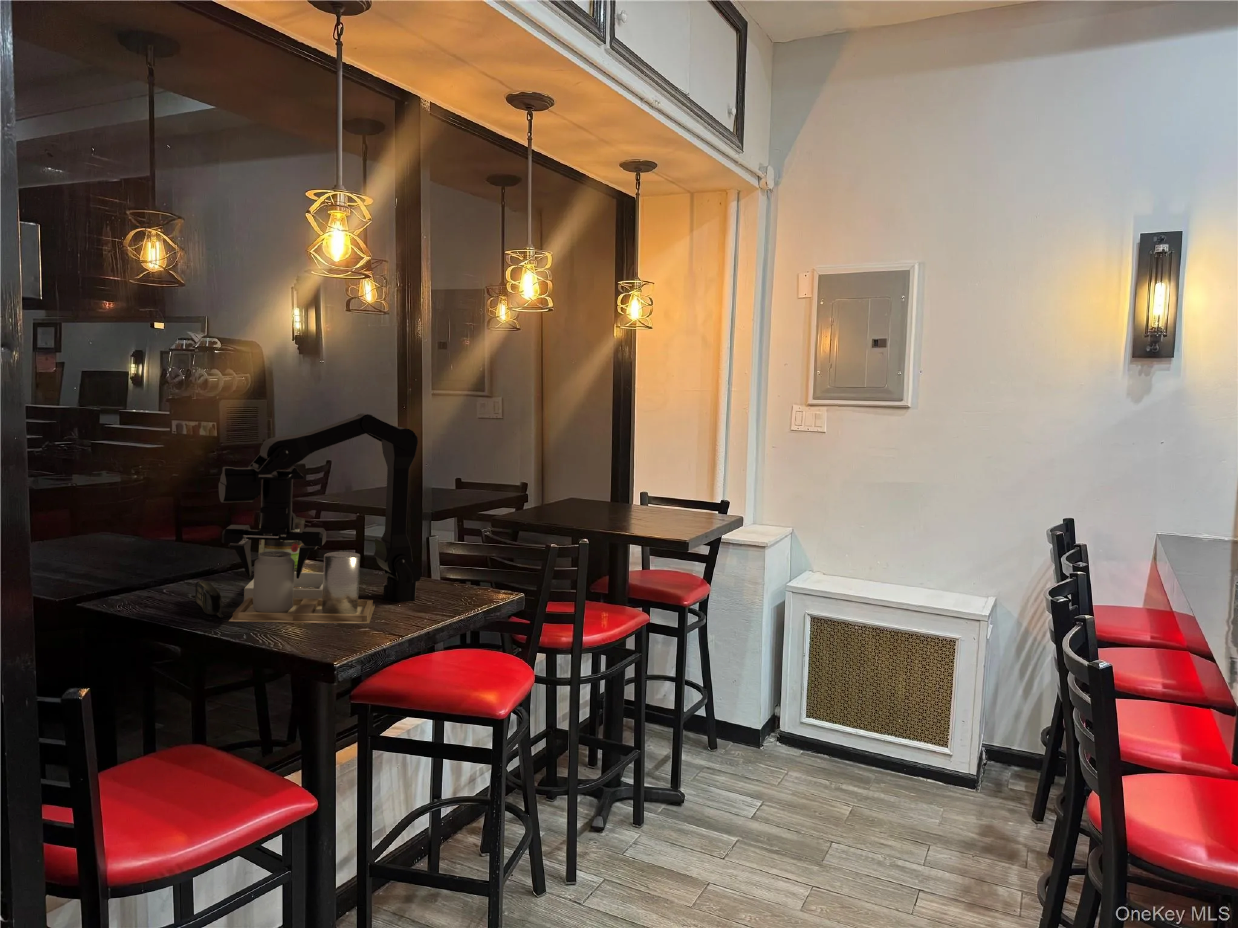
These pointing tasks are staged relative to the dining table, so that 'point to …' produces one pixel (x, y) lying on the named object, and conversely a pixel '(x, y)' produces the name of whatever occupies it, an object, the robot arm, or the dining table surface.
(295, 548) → the coffee can
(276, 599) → the can
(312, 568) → the dining table surface
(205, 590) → the mobile phone
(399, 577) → the robot arm
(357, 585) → the steel billet
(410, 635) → the dining table surface
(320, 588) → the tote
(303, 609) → the wooden divided tray
